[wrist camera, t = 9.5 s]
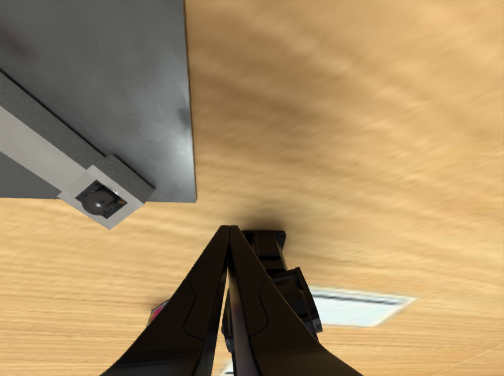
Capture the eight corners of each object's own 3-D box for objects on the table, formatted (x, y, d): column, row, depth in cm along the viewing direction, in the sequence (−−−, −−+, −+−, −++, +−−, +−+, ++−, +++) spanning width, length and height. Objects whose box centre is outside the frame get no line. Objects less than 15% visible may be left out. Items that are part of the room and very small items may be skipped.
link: (154, 190, 20) (144, 204, 17) (123, 213, 21) (109, 229, 18) (-70, 0, 12) (-150, -23, 9) (-101, 55, 13) (-180, 47, 10)
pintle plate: (196, 200, 22) (188, 224, 18) (-14, 194, 19) (-79, 221, 15) (182, -22, 13) (159, -72, 9) (-224, -95, 10) (-529, -218, 6)
